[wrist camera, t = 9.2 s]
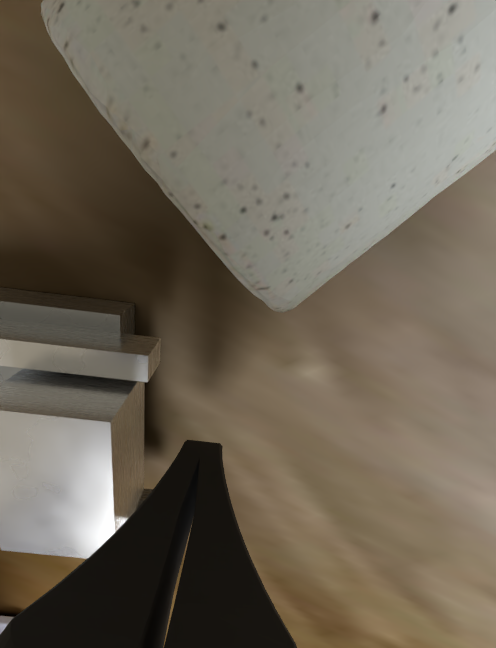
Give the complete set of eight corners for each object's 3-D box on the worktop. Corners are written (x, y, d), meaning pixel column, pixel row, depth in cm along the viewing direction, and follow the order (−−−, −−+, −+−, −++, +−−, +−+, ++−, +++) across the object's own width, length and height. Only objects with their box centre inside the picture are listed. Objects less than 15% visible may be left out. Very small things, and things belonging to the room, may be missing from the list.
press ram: (143, 489, 14) (115, 561, 11) (52, 479, 14) (1, 550, 11) (144, 370, 12) (110, 422, 9) (37, 358, 12) (-32, 406, 9)
